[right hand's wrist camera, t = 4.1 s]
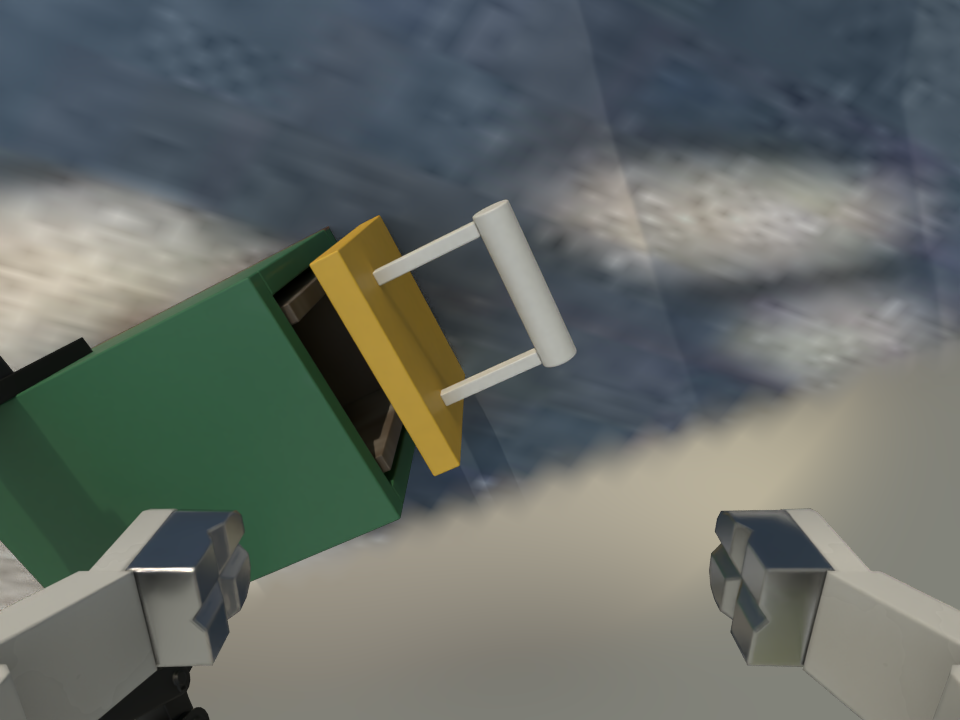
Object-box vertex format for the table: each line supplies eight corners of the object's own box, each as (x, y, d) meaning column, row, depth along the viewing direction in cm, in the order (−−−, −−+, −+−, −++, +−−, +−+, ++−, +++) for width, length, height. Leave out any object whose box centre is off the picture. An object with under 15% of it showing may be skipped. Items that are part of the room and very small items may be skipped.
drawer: (489, 158, 29) (494, 170, 20) (567, 328, 32) (601, 405, 23) (157, 328, 32) (30, 405, 23) (256, 469, 35) (180, 586, 26)
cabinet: (328, 226, 31) (247, 276, 20) (425, 397, 35) (401, 519, 24) (97, 345, 34) (-87, 447, 23) (209, 495, 37) (97, 647, 26)
